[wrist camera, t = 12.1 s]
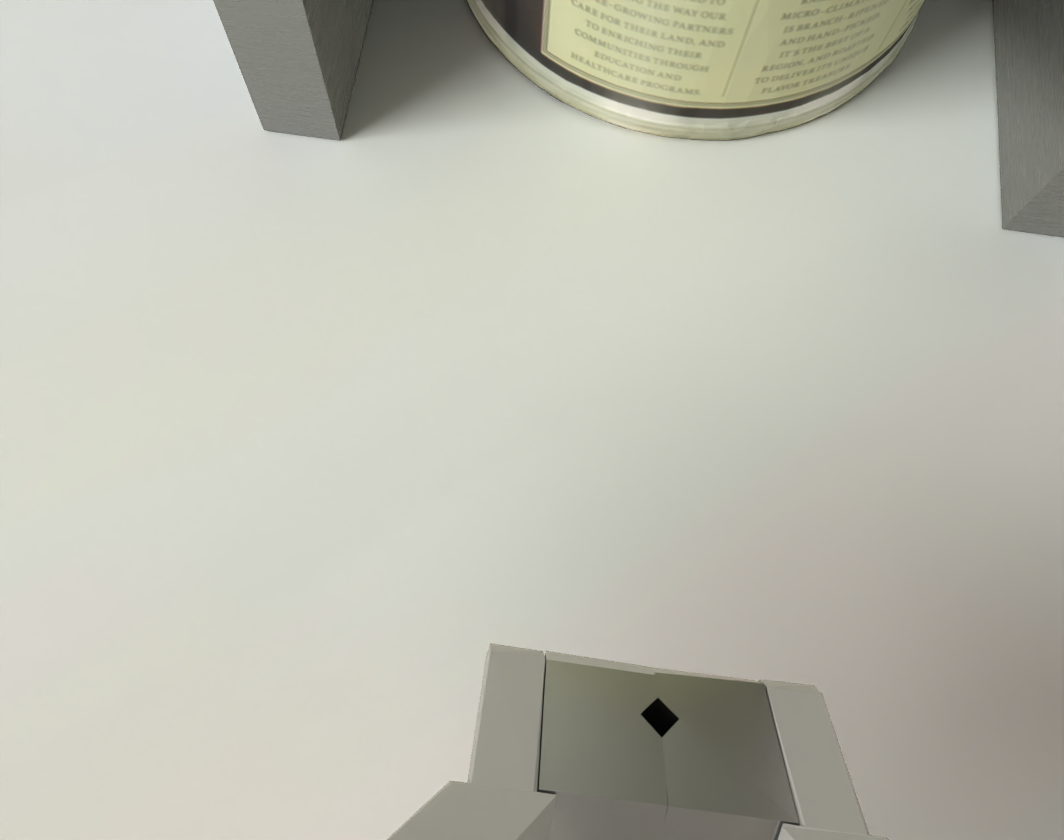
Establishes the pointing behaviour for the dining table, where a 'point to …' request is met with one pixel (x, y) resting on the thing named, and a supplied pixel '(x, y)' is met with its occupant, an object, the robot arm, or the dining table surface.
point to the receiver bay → (344, 7)
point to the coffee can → (700, 58)
